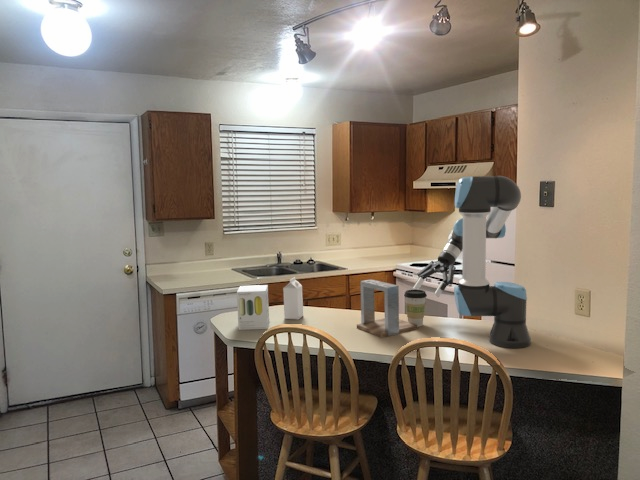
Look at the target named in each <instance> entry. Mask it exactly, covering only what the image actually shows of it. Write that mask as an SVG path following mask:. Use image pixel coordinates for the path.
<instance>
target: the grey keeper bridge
mask: <svg viewBox="0 0 640 480" xmlns="http://www.w3.org/2000/svg"><path fill="white" fill-rule="evenodd" d="M375 290H377V291H379V292H380V291H381V292H383V293H384V299H383V300H384V301H383V302H384V318H385V332H387V336H386V337H390V336H395V335H398V334H400V333H399V319H400V312H399V311H400V303H399V299H400V297H399V294H400V293H399V292H400V291H399V285H398V284H397V285H396V284H393V283H389V282H384V281H381V280H376V279H372V278H371V279H365V280H360V315H361V316H360V321H361V323H360V324H367V323H371V322H375V318H376V317H375V315H376V314H375V309H376V308H375Z"/></svg>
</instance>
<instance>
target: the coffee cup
mask: <svg viewBox="0 0 640 480" xmlns="http://www.w3.org/2000/svg"><path fill="white" fill-rule="evenodd" d="M403 294H404V298H405V307H406V309H405V310H406V317H407V322H409V323H412V324H416V325H417V328H418V327H423V325H424V324H423V323H424V317H425V312H426V311H425V310H426V298H427V296H428V295H427V293H426V290H423V289H419V290H414V289H407V290H405V293H403Z"/></svg>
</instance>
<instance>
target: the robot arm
mask: <svg viewBox="0 0 640 480" xmlns="http://www.w3.org/2000/svg"><path fill="white" fill-rule="evenodd" d="M521 200H522V193H521V190H520V186H519V185H518V184H517V183H516V182H515V181H513V180H512V179H510V178H509V177H507V176H503V175H486V176H485V175H482V176H481V175H480V176H479V175H478V176H473V175H471V176H463V177H461V178H459V179H458V181H457V184H456V187H455V194H454V207H455V208H456V209H458V213H459V214H460V215H461V216H462V218H459V219H457V220H456V222H455V223H454V225H453V230H452V233H451V236H450V238H449V239H448V241H447V243H446V245H445V246H444V247H443V249H442V250H441V252H440V254H439V255H438V257H437V261H436V262H435V261H434V260H431V261H430V262H429V263H428V265H426V266H425V267H424V268H422V270H420V271H419V272H418V273H417V274H416V276H418V278H417V280H416V281H415V284H414V285H413V287H412V290H420V289H421V286H422V285H423V283H425V279H427V278H429V277H430V276H432V275H433V274H437V273H439V274H442V279H443V280H442V281H441V282H440V284H439V285H438V286H437V289H436V290H435V292H434V295H435V296H436V297H437V298H439V297H440V296H441V294H442V293H443V291H445V290H446V288H447V286H448V285H449V286H450V285H451V286H452V285H453V283H454V277H455V271H456V270H457V269H456V266H455V263H456V261H457V259H458V258H459V256H460V254H461V252H462V270H461V271H462V273H461V274H462V277H461V278H460V279H459V280H458V285H456V286H453V287H454V288H453V292H454V293H453V294H454V301H455V306H456V310H457V313H458V314H459V315H460V316H463V317H470V318H471V317H493V324H492V327H491V329H490V332H489V336H488V337H489V339H488V342H489V343H491V344H492V345H495V346H498V347H502V348H506V349H507V348H509V349H521V348H527V347H528V346H531V343H532V342H531V336H530V334H529V330H528V326H527V300H528V297H527V289H526V287H524V286H523V285H522V284H519V283H513V282H509V281H495V282H494V284H493V285H490V281H489V280H488V279H487V278H486V273H487V272H486V268H487V267H486V264H487V262H486V261H487V260H486V259H487V256H486V255H487V252H486V251H487V239H502V238H504V237H505V236H506V232H507V231H506V230H507V229H506V222H507V219H508V218H509V217H510V215H511V213H512V211H513V210H515V209H517V208H518V206H519V204H520V202H521Z"/></svg>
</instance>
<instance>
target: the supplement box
mask: <svg viewBox="0 0 640 480" xmlns="http://www.w3.org/2000/svg"><path fill="white" fill-rule="evenodd" d="M236 302H237V305H236V306H237V324H238V325H237V326H238V327H237V328H238V331H242V330H249V331H250V330H267V329H268V328H269V325H270V309H269V308H270V307H269V306H270V305H269V285H268V284H258V285H255V284H254V285H253V284H252V285H240V286H239V287H238V289H237V291H236Z"/></svg>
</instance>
